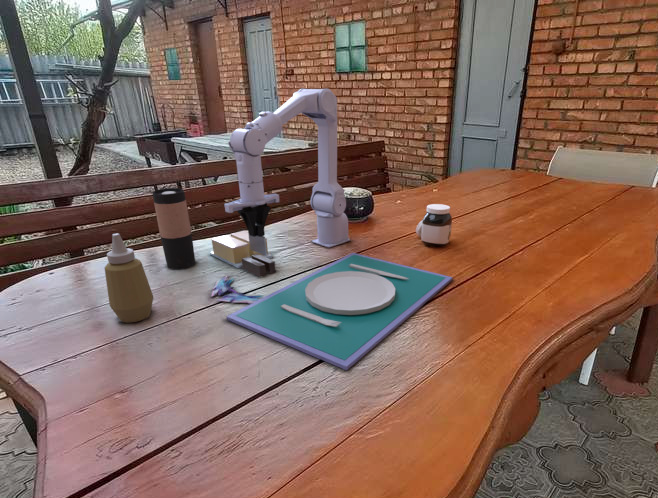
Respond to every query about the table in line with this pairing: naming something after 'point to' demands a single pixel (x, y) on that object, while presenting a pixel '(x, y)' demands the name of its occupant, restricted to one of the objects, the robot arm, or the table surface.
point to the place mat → (342, 307)
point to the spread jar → (435, 226)
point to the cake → (234, 248)
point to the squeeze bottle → (127, 283)
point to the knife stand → (258, 265)
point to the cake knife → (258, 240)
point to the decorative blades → (234, 296)
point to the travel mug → (174, 227)
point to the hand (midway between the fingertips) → (256, 234)
